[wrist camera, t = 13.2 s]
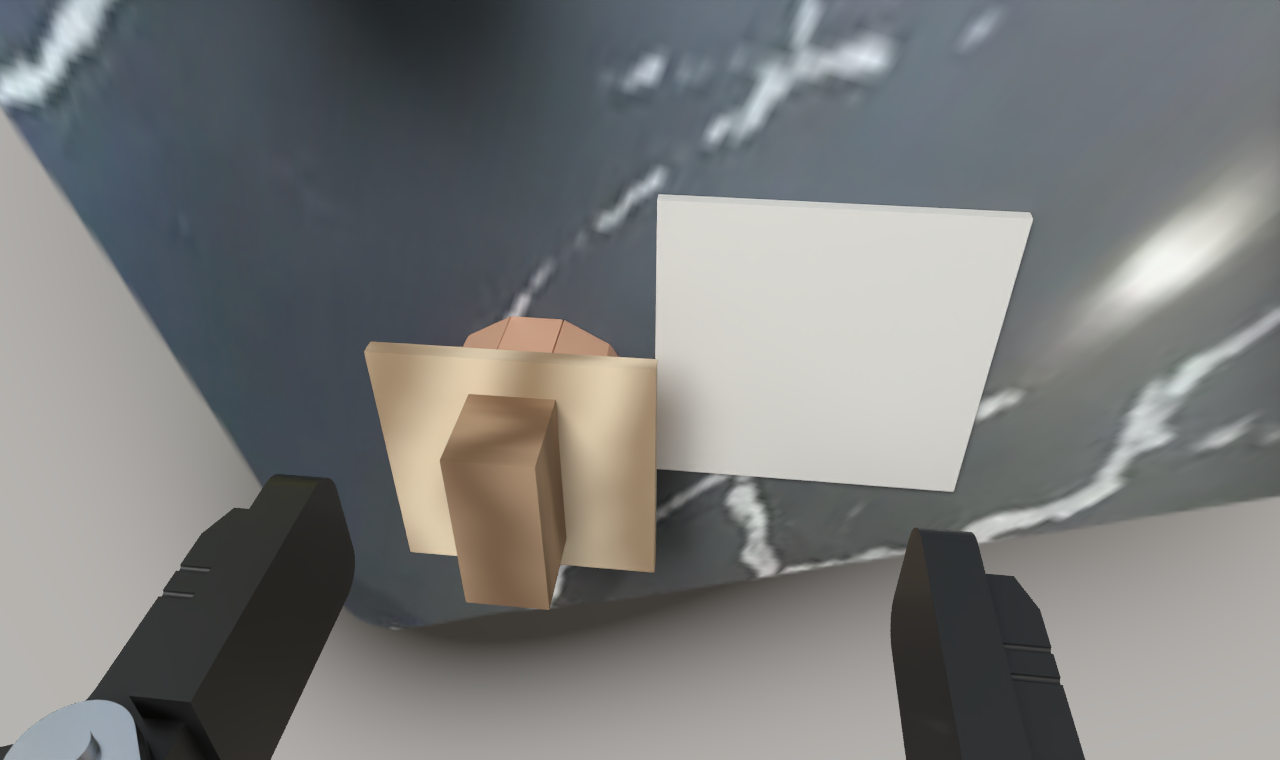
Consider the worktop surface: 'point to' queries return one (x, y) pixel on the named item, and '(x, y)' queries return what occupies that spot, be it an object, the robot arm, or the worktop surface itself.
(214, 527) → the robot arm
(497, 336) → the bowl
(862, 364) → the mat
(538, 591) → the lid
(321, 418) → the worktop surface
